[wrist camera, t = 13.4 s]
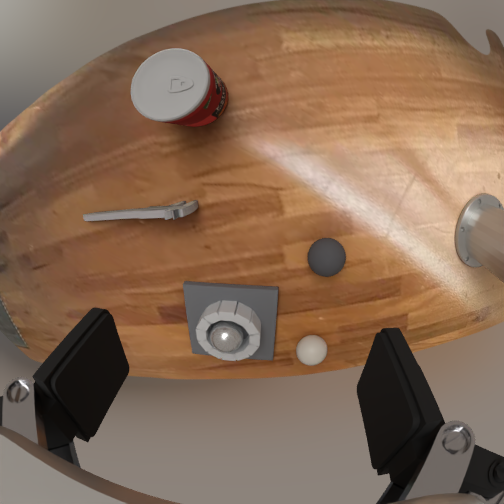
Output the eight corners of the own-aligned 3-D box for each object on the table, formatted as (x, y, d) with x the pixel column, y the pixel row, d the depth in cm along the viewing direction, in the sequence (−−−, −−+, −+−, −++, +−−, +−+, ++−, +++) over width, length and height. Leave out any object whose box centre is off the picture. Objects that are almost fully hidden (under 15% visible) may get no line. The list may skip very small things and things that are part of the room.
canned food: (233, 120, 31) (215, 109, 21) (174, 133, 33) (135, 132, 22) (224, 66, 29) (202, 37, 19) (166, 82, 30) (126, 63, 20)
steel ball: (246, 315, 40) (238, 336, 36) (246, 340, 42) (239, 361, 38) (215, 310, 41) (203, 330, 37) (217, 335, 43) (207, 355, 39)
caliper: (198, 198, 36) (183, 209, 30) (199, 206, 36) (185, 218, 31) (84, 213, 38) (60, 225, 33) (85, 220, 39) (62, 232, 33)
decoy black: (343, 233, 36) (352, 247, 31) (338, 267, 38) (346, 284, 33) (307, 231, 36) (311, 245, 32) (304, 265, 38) (307, 282, 33)
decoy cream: (327, 328, 42) (332, 349, 37) (322, 351, 44) (326, 371, 39) (297, 328, 42) (298, 348, 38) (294, 350, 44) (295, 371, 40)
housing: (278, 286, 40) (278, 301, 36) (272, 356, 45) (272, 372, 41) (185, 281, 41) (176, 294, 37) (193, 349, 46) (188, 364, 42)
